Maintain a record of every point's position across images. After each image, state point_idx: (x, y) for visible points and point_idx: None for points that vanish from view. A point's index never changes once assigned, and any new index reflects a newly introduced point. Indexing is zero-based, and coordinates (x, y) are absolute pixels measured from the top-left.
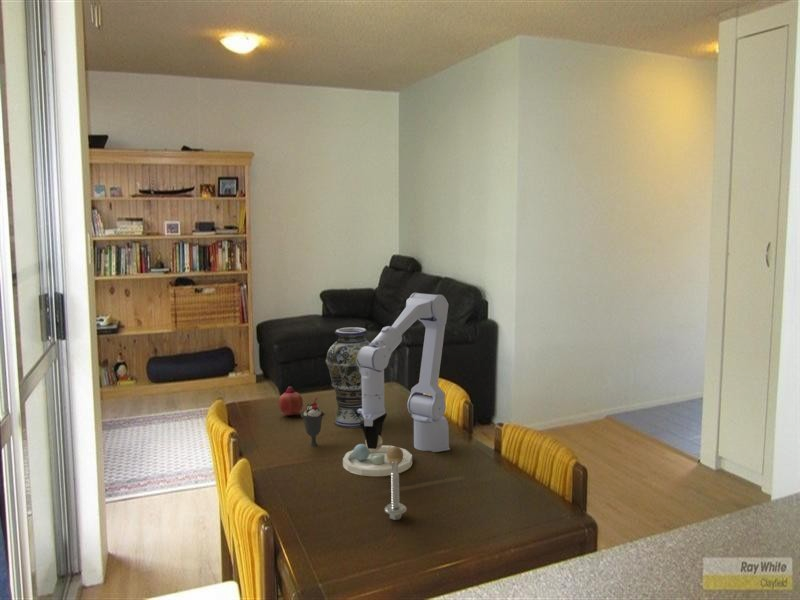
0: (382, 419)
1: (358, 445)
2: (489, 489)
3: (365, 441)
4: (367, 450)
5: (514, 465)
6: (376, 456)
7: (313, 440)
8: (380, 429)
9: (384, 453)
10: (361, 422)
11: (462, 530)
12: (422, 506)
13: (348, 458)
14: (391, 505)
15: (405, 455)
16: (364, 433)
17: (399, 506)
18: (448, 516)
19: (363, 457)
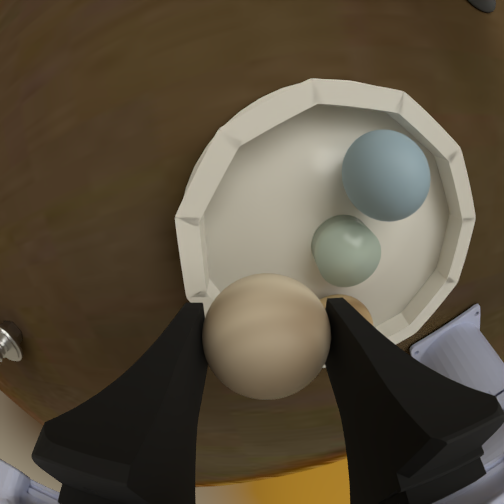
0: (354, 487)
1: (398, 170)
2: (199, 452)
3: (245, 293)
4: (373, 217)
5: (316, 463)
6: (344, 254)
7: None
8: (342, 412)
9: (430, 252)
10: (56, 470)
11: (45, 406)
12: (75, 375)
13: (341, 105)
14: (2, 338)
15: None
16: (116, 381)
17: (8, 352)
18: (68, 402)
19: (344, 188)
